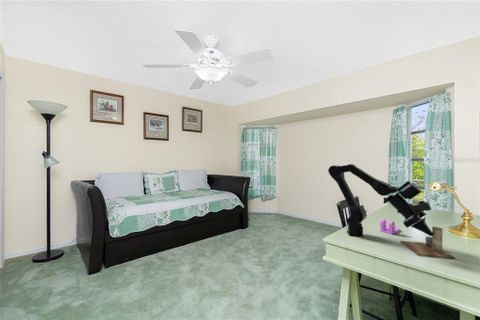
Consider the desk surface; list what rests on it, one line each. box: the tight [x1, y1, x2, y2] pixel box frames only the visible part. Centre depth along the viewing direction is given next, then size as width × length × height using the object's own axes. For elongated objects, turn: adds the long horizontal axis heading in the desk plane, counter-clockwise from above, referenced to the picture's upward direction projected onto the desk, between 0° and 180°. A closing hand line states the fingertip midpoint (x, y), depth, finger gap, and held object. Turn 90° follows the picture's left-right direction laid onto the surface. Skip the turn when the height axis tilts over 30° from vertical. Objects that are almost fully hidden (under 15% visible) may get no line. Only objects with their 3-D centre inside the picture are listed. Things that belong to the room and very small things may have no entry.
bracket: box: [379, 218, 401, 236], centre depth 122 cm, size 13×6×7 cm, turn 124°
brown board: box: [400, 240, 456, 260], centre depth 97 cm, size 13×15×1 cm
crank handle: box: [425, 226, 444, 253], centre depth 96 cm, size 10×4×10 cm, turn 155°
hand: (432, 235), depth 93 cm, fingers closed, pressing on crank handle
